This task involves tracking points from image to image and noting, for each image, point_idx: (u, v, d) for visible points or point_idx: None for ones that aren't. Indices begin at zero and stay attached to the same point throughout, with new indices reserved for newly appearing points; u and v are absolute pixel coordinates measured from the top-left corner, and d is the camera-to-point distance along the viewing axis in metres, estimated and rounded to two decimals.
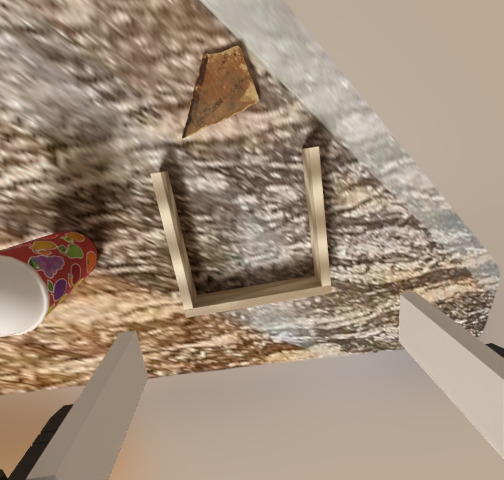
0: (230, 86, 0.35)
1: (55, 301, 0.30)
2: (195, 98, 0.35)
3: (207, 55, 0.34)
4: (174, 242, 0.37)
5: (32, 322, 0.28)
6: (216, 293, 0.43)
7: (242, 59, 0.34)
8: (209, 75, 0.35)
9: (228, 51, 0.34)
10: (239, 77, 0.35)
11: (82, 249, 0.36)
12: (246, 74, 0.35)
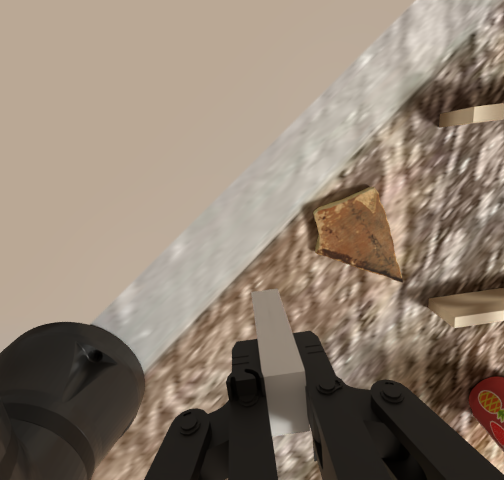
0: (357, 224, 0.28)
1: None
2: (363, 265, 0.30)
3: (320, 249, 0.29)
4: None
5: None
6: None
7: (330, 209, 0.28)
8: (342, 248, 0.29)
9: (319, 225, 0.28)
10: (349, 213, 0.28)
11: None
12: (347, 204, 0.28)
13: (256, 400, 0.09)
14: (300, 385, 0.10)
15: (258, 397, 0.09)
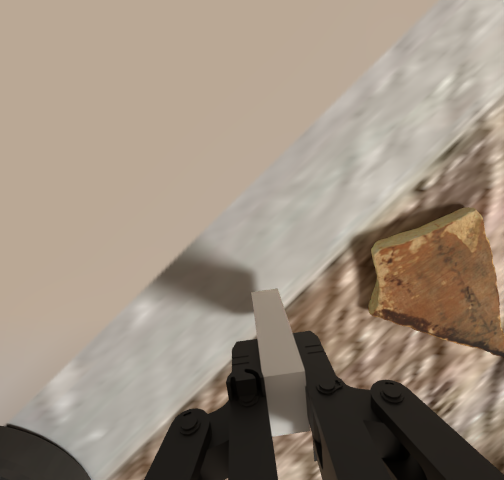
0: (445, 271, 0.17)
1: None
2: (448, 334, 0.18)
3: (379, 309, 0.17)
4: None
5: None
6: None
7: (401, 246, 0.16)
8: (416, 308, 0.17)
9: (381, 272, 0.17)
10: (433, 253, 0.16)
11: None
12: (430, 238, 0.16)
13: (256, 400, 0.09)
14: (300, 385, 0.10)
15: (258, 397, 0.09)
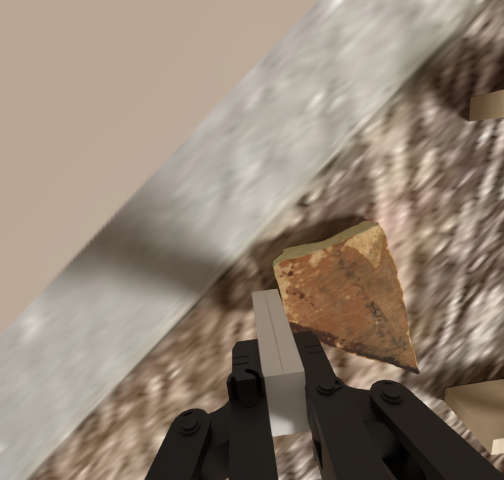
0: (348, 285, 0.16)
1: None
2: (357, 348, 0.18)
3: None
4: None
5: None
6: None
7: (301, 259, 0.16)
8: (321, 322, 0.17)
9: (282, 285, 0.16)
10: (334, 267, 0.16)
11: None
12: (331, 252, 0.16)
13: (256, 400, 0.09)
14: (300, 385, 0.10)
15: (258, 397, 0.09)
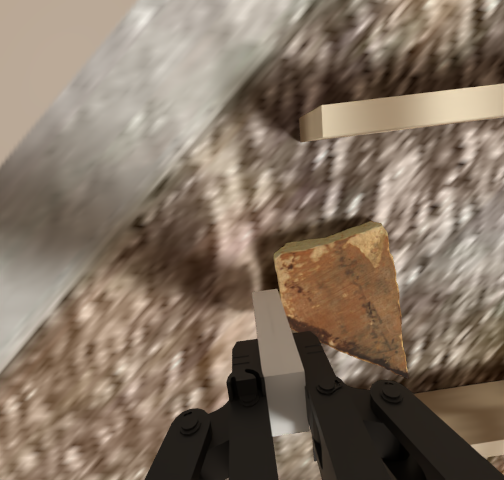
0: (346, 283, 0.16)
1: None
2: (349, 348, 0.18)
3: None
4: (485, 446, 0.17)
5: None
6: None
7: (303, 253, 0.16)
8: (317, 318, 0.17)
9: (282, 277, 0.16)
10: (335, 264, 0.16)
11: None
12: (332, 248, 0.16)
13: (256, 400, 0.09)
14: (300, 385, 0.10)
15: (258, 397, 0.09)
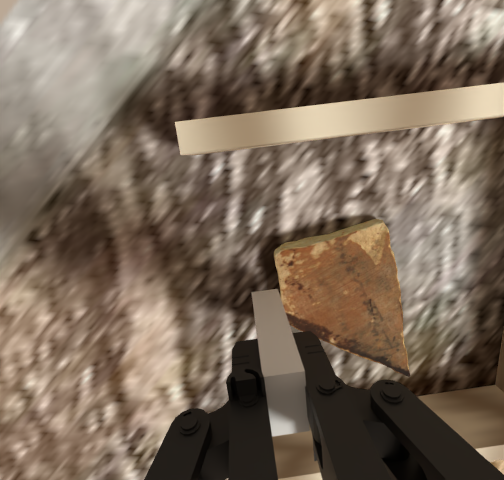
0: (347, 280, 0.16)
1: None
2: (350, 345, 0.18)
3: None
4: None
5: None
6: None
7: (303, 249, 0.16)
8: (317, 316, 0.17)
9: (282, 274, 0.16)
10: (335, 260, 0.16)
11: None
12: (333, 245, 0.16)
13: (256, 400, 0.09)
14: (300, 385, 0.10)
15: (258, 397, 0.09)
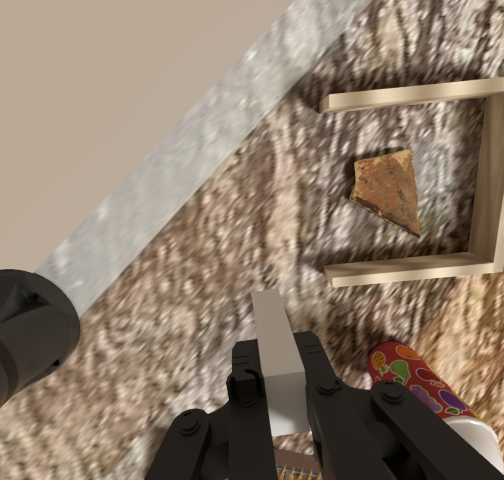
0: (389, 178, 0.33)
1: (467, 408, 0.29)
2: (389, 216, 0.34)
3: (354, 196, 0.34)
4: (409, 273, 0.33)
5: (492, 438, 0.27)
6: (474, 229, 0.35)
7: (369, 161, 0.32)
8: (373, 198, 0.34)
9: (357, 174, 0.33)
10: (384, 167, 0.33)
11: (395, 359, 0.36)
12: (384, 159, 0.32)
13: (256, 400, 0.09)
14: (300, 385, 0.10)
15: (258, 397, 0.09)
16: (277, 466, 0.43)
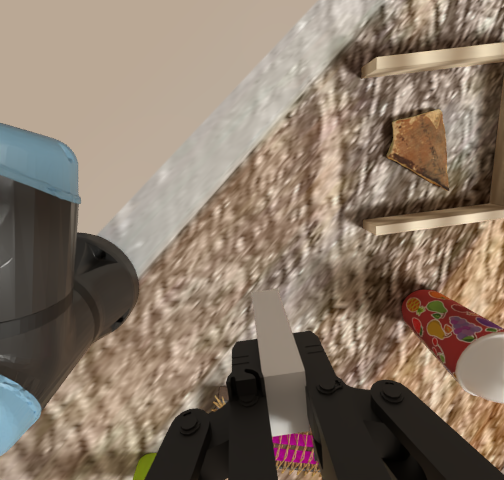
0: (423, 136, 0.37)
1: (502, 328, 0.33)
2: (422, 171, 0.39)
3: (392, 153, 0.38)
4: (443, 219, 0.37)
5: None
6: (495, 181, 0.40)
7: (406, 120, 0.36)
8: (409, 154, 0.38)
9: (395, 132, 0.37)
10: (419, 125, 0.37)
11: (430, 300, 0.40)
12: (418, 118, 0.36)
13: (256, 400, 0.09)
14: (300, 385, 0.10)
15: (258, 397, 0.09)
16: None
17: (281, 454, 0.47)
